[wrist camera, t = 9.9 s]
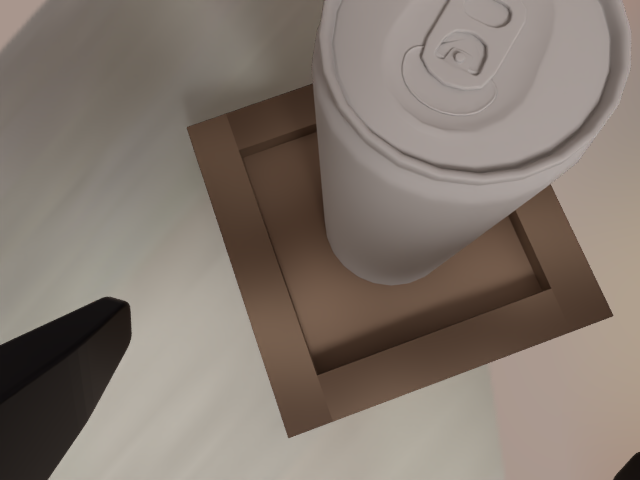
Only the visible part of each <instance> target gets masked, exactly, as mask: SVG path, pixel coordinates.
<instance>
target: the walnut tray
mask: <svg viewBox="0 0 640 480" xmlns="http://www.w3.org/2000/svg"><path fill="white" fill-rule="evenodd" d="M187 130H188V133H189V136H190V139H191V142H192V145H193V149H194V152H195V155H196V158H197V161H198V164H199V167H200V170H201V173H202V176H203V179H204V182H205V185H206V188H207V191H208V194H209V197H210V200H211V203H212V206H213V210H214V213H215V216H216V219H217V222H218V225H219V228H220V231H221V234H222V237H223V240H224V243H225V246H226V249H227V252H228V255H229V258H230V261H231V264H232V267H233V270H234V274H235V277H236V280H237V283H238V286H239V289H240V292H241V295H242V298H243V301H244V304H245V307H246V310H247V313H248V316H249V319H250V322H251V325H252V328H253V331H254V334H255V338H256V341H257V344H258V347H259V350H260V353H261V356H262V359H263V362H264V365H265V368H266V371H267V374H268V377H269V380H270V383H271V386H272V389H273V392H274V395H275V399H276V402H277V405H278V408H279V411H280V414H281V417H282V420H283V423H284V426H285V429H286V432H287V435H288V438H290V437H293V436H296V435H298V434H301V433H304V432H306V431H309V430H312V429H314V428H317V427H320V426H322V425H325V424H328V423H330V422H333V421H336V420H338V419H341V418H344V417H346V416H349V415H352V414H354V413H357V412H360V411H362V410H365V409H368V408H370V407H373V406H376V405H378V404H381V403H383V402H386V401H389V400H391V399H394V398H397V397H399V396H402V395H405V394H407V393H410V392H413V391H415V390H418V389H421V388H423V387H426V386H429V385H431V384H434V383H437V382H439V381H442V380H445V379H447V378H450V377H453V376H455V375H458V374H461V373H463V372H466V371H469V370H471V369H474V368H477V367H479V366H482V365H484V364H487V363H490V362H492V361H495V360H498V359H500V358H503V357H506V356H508V355H511V354H513V353H516V352H519V351H522V350H524V349H527V348H530V347H532V346H535V345H538V344H540V343H543V342H546V341H548V340H551V339H553V338H556V337H559V336H561V335H564V334H567V333H569V332H572V331H575V330H578V329H580V328H583V327H586V326H588V325H591V324H593V323H596V322H599V321H601V320H604V319H607V318H609V317H612V316H613V314H612V312H611V310H610V308H609V306H608V303H607V301H606V299H605V297H604V295H603V293H602V291H601V289H600V287H599V285H598V283H597V281H596V278H595V276H594V274H593V272H592V270H591V268H590V266H589V264H588V262H587V260H586V257H585V255H584V253H583V251H582V249H581V247H580V245H579V243H578V241H577V239H576V236H575V234H574V233H573V230H572V228H571V226H570V224H569V222H568V220H567V218H566V216H565V213H564V212H563V209H562V207H561V205H560V203H559V201H558V199H557V197H556V195H555V193H554V191H553V188H552V186H551V184H550V185H548V186H547V187H546V188H545V189H543V190H542V191H541V192H539V193H538V194H536V195H535V196H534V197H532V198H531V199H530V200H528V201H527V202H526V203H524V204H523V205H522V206H520V207H519V208H517V209H516V210H515V211H513V212H512V213H511V214H509V215H508V216H507V217H505V218H504V219H503V220H501V221H500V222H498V223H497V224H496V225H494V226H493V227H492V228H490V229H489V230H488V231H486V232H485V233H483V234H482V235H481V236H479V237H478V238H477V239H475V240H474V241H473V242H471V243H470V244H469V245H467V246H466V247H464V248H463V249H462V250H460V251H459V252H458V253H456V254H455V255H454V256H452V257H451V258H450V259H448V260H447V261H445V262H444V263H443V264H441V265H440V266H439V267H437V268H436V269H435V270H433V271H432V272H431V273H429V274H428V275H426V276H425V277H423V278H420V279H418V280H416V281H413V282H411V283H407V284H399V285H392V286H391V285H384V284H376V283H372V282H370V281H367V280H365V279H363V278H360V277H358V276H356V275H355V274H354V273H352V272H351V271H350V270H349V269H347V268H346V267H345V266H344V265H343V264H342V263H341V262H340V260H339V259H338V258H337V256H336V255H335V254H334V253H333V250H332V248H331V246H330V243H329V241H328V238H327V234H326V226H325V218H324V206H323V195H322V183H321V171H320V160H319V148H318V137H317V125H316V113H315V102H314V90H313V84H310V85H307V86H305V87H302V88H299V89H296V90H293V91H290V92H287V93H284V94H281V95H279V96H276V97H273V98H270V99H267V100H264V101H261V102H258V103H255V104H252V105H250V106H247V107H244V108H241V109H238V110H235V111H232V112H229V113H226V114H224V115H221V116H218V117H215V118H212V119H209V120H206V121H203V122H200V123H198V124H195V125H192V126H189V127H187Z"/></svg>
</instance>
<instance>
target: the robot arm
mask: <svg viewBox="0 0 640 480" xmlns="http://www.w3.org/2000/svg"><path fill="white" fill-rule="evenodd" d="M131 334H132V332H131V312H130V305H129V304H128V302H126V301H123V300H120V299H116V298H113V297H103V298H101V299H99V300H97V301H94V302H92V303H90V304H88V305H86V306H84V307H81V308H79V309H77V310H75V311H73V312H71V313H69V314H66V315H64V316H62V317H60V318H58V319H56V320H53V321H51V322H49V323H47V324H45V325H43V326H40V327H38V328H36V329H34V330H32V331H30V332H28V333H25V334H23V335H21V336H19V337H17V338H15V339H12V340H10V341H8V342H6V343H4V344H2V345H0V480H48V478H49V477H50V476H51V474H52V473H53V471H54V470H55V468H56V467H57V465H58V464H59V462H60V461H61V460H62V458H63V457H64V455H65V454H66V452H67V451H68V449H69V448H70V446H71V445H72V444H73V442H74V441H75V439H76V438H77V436H78V435H79V433H80V432H81V430H82V429H83V427H84V426H85V424H86V423H87V421H88V419H89V418H90V416H91V414H92V412H93V411H94V409H95V407H96V405H97V403H98V402H99V400H100V398H101V396H102V394H103V392H104V391H105V389H106V387H107V385H108V383H109V381H110V379H111V378H112V376H113V374H114V372H115V370H116V368H117V367H118V365H119V363H120V361H121V359H122V357H123V355H124V354H125V352H126V350H127V348H128V346H129V343H130V340H131ZM613 480H640V452H638V453H636V454H635V455H634V456H633V457H632V458H631V459H630V460H629V461H628V462H627V463H626V465H625V466H624V467H623V468H622V469H621V470H620V471H619V472H618V473H617V474H616V476H615V477H614V479H613Z"/></svg>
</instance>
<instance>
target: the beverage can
mask: <svg viewBox="0 0 640 480" xmlns="http://www.w3.org/2000/svg"><path fill="white" fill-rule="evenodd" d="M630 69H631V29H630V25H629V22H628V19H627V15H626V11H625V8H624V4H623V1H622V0H324V3H323V9H322V16H321V22H320V24H319V27H318V29H317V34H316V40H315V47H314V53H313V59H312V79H313V90H314V102H315V113H316V125H317V137H318V148H319V160H320V171H321V183H322V195H323V206H324V218H325V226H326V234H327V238H328V241H329V243H330V246H331V248H332V250H333V253H334V254H335V255H336V256H337V258H338V259H339V260H340V262H341V263H342V264H343V265H344V266H345V267H346V268H347V269H349V270H350V271H351V272H352V273H354V274H355V275H356V276H358V277H360V278H363V279H365V280H367V281H370V282H372V283H376V284H384V285H391V286H392V285H399V284H407V283H411V282H413V281H416V280H418V279H420V278H423V277H425V276H426V275H428V274H429V273H431V272H432V271H433V270H435V269H436V268H437V267H439V266H440V265H441V264H443V263H444V262H445V261H447V260H448V259H450V258H451V257H452V256H454V255H455V254H456V253H458V252H459V251H460V250H462V249H463V248H464V247H466V246H467V245H469V244H470V243H471V242H473V241H474V240H475V239H477V238H478V237H479V236H481V235H482V234H483V233H485V232H486V231H488V230H489V229H490V228H492V227H493V226H494V225H496V224H497V223H498V222H500V221H501V220H503V219H504V218H505V217H507V216H508V215H509V214H511V213H512V212H513V211H515V210H516V209H517V208H519V207H520V206H522V205H523V204H524V203H526V202H527V201H528V200H530V199H531V198H532V197H534V196H535V195H536V194H538V193H539V192H541V191H542V190H543V189H545V188H546V187H547V186H548V185H550V184H551V183H552V182H553V181H555V180H556V179H557V178H559V177H560V176H561V175H562V174H564V173H565V172H566V171H568V170H569V169H570V168H571V167H573V166H574V165H575V164H576V163H577V162H578V161H579V160H580V158H581V157H582V156H583V154H584V153H585V151H586V150H587V148H588V147H589V146H590V144H591V143H592V141H593V140H594V139H595V137H596V136H597V135H598V133H599V132H600V130H601V129H602V127H603V126H604V125H605V123H606V122H607V120H608V119H609V118H610V116H611V115H612V114H613V112H614V111H615V110H616V108H617V107H618V105H619V103H620V100H621V97H622V93H623V91H624V88H625V84H626V81H627V78H628V75H629V72H630Z"/></svg>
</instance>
